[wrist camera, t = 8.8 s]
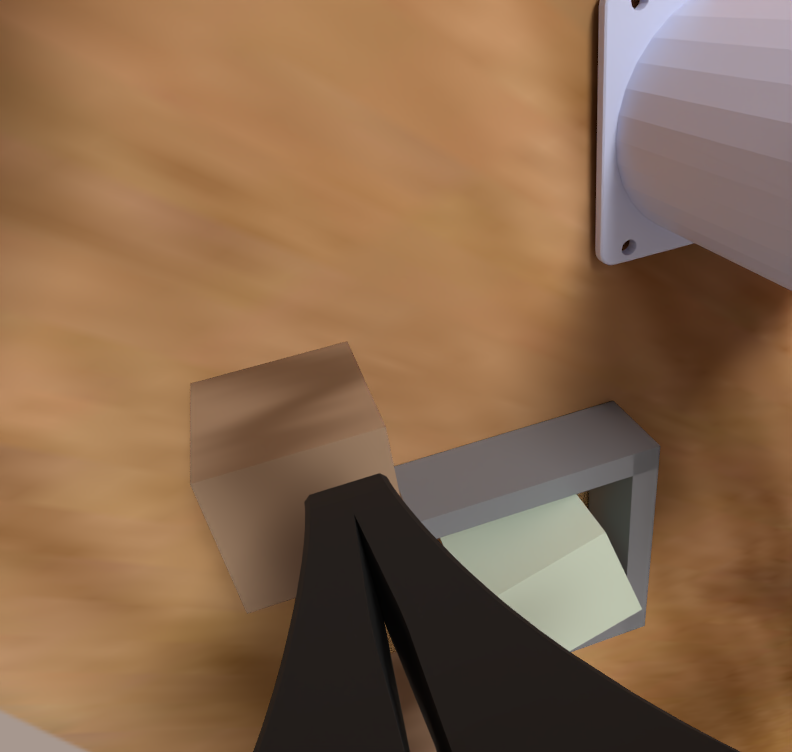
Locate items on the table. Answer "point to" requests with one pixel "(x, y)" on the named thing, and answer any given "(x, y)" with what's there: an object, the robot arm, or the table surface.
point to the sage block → (550, 569)
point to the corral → (549, 485)
